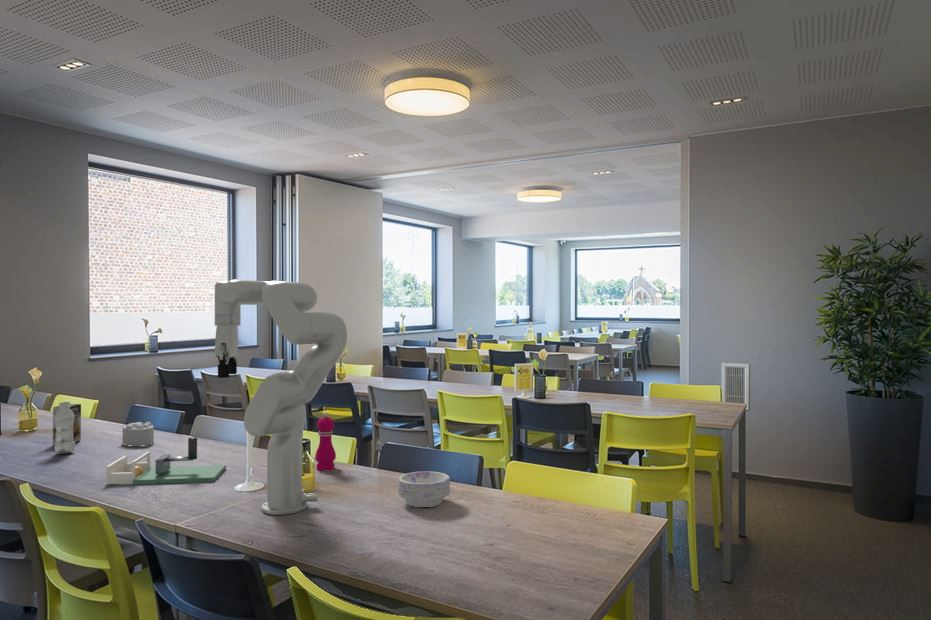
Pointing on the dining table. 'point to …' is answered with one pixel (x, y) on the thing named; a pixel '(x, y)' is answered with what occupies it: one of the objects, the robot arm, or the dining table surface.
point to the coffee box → (76, 425)
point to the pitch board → (181, 475)
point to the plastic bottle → (64, 429)
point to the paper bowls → (424, 488)
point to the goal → (125, 470)
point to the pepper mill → (325, 444)
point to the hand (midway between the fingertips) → (227, 375)
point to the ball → (137, 471)
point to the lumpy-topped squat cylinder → (138, 434)
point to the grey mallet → (164, 460)
